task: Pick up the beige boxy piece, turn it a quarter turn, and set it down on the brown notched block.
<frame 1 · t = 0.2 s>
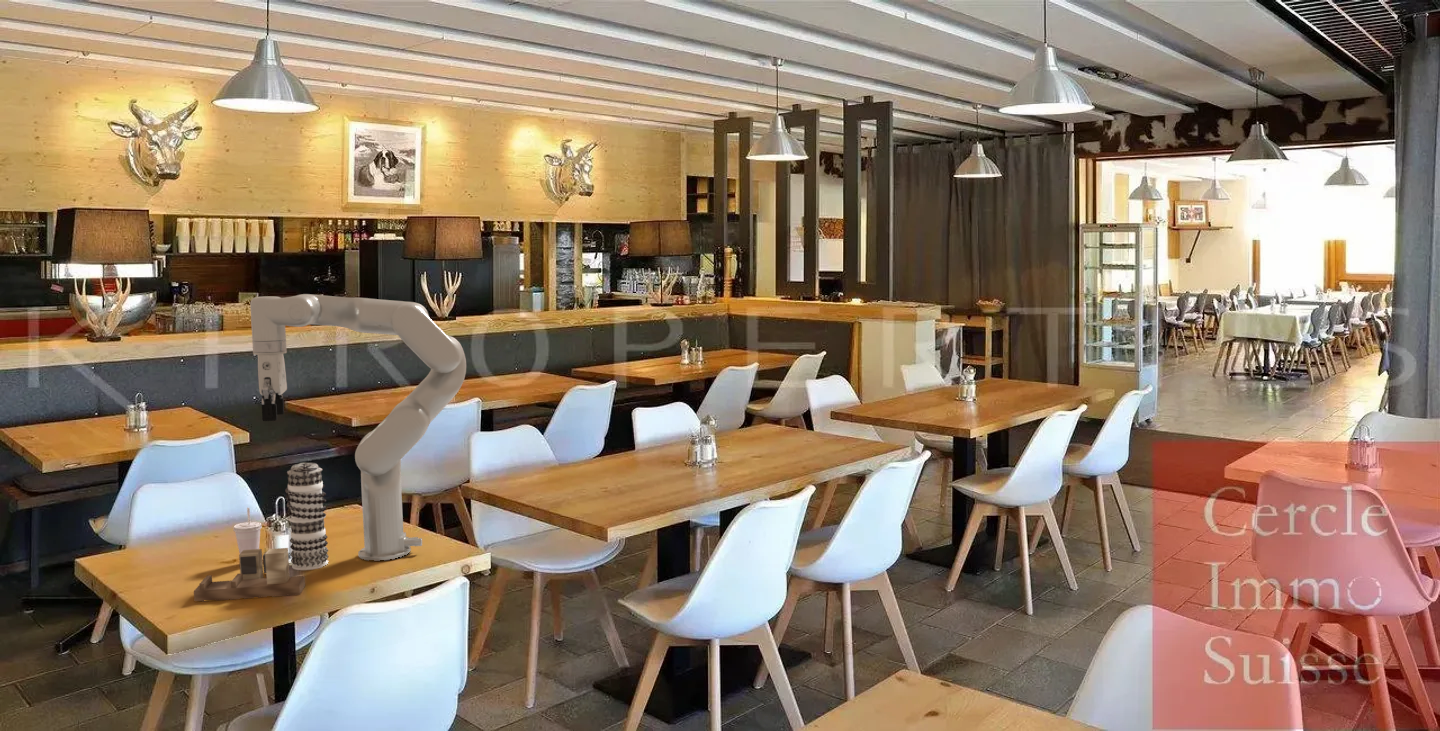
hand: (273, 417, 259), 36 cm above the table, tool pointing down, fingers open, 9 cm apart
brown notched block: (250, 593, 238), on the table
beige boxy piece: (252, 581, 248), on the table
smoothie: (250, 564, 262), on the table
decorative candle: (310, 565, 260), on the table
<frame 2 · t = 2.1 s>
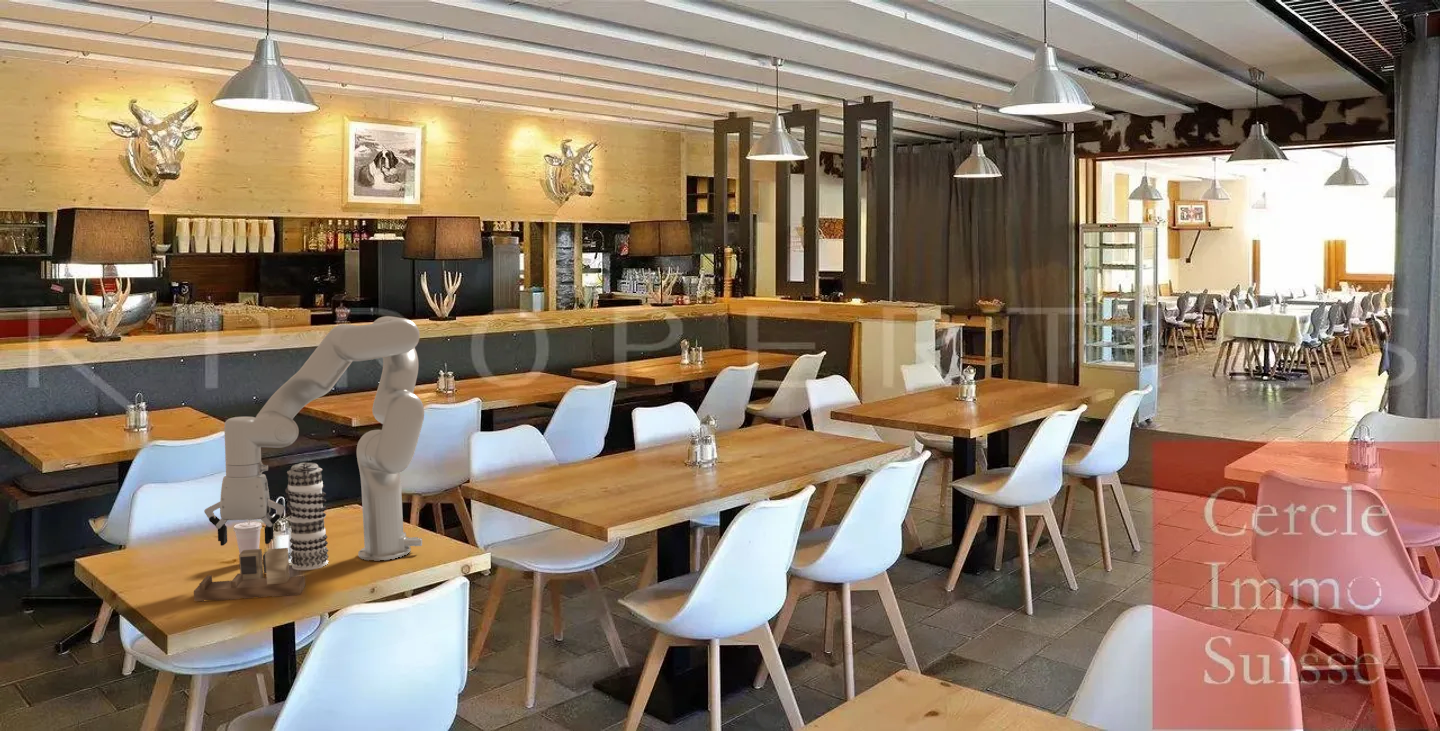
hand: (246, 543, 246), 9 cm above the table, tool pointing down, fingers open, 9 cm apart
nothing on the table moved.
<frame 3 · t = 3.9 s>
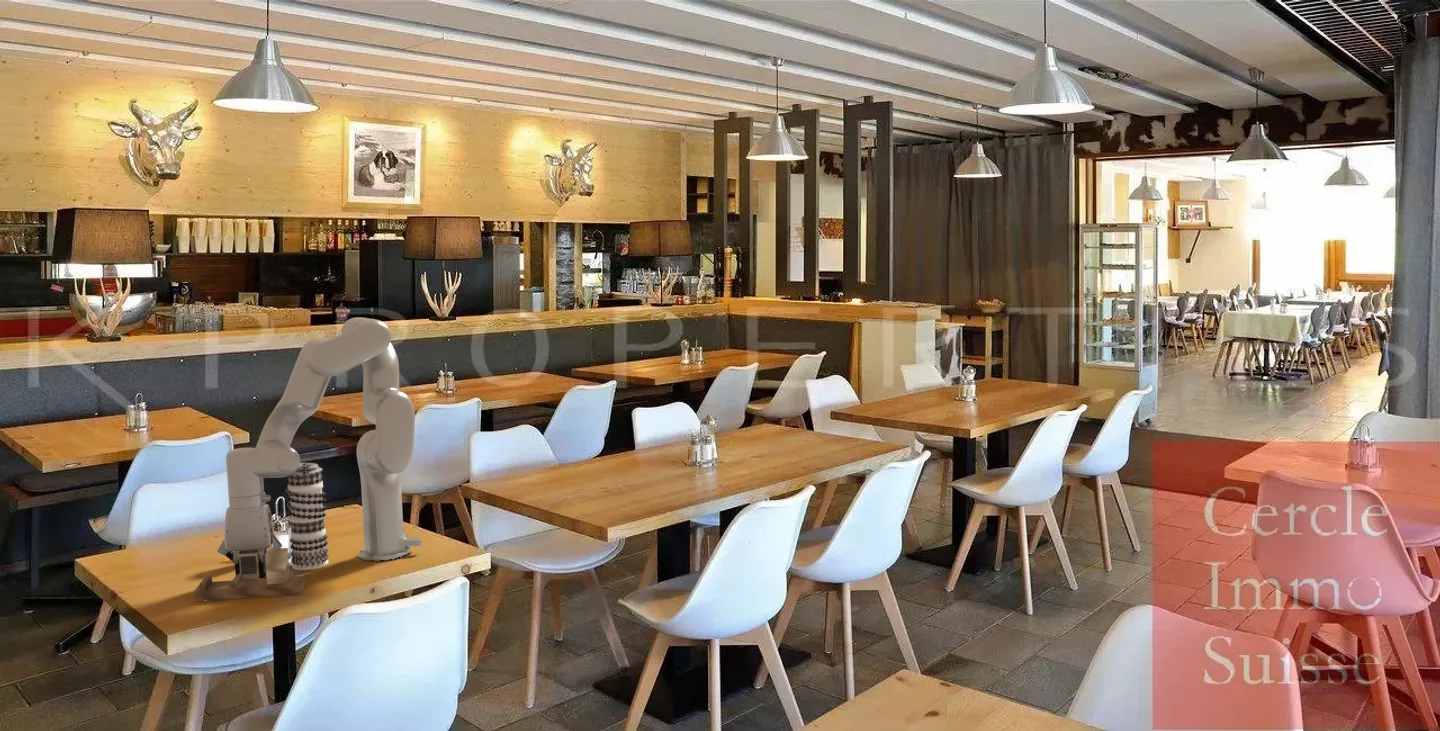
hand: (251, 577, 248), 1 cm above the table, tool pointing down, fingers closed on beige boxy piece, 4 cm apart
beige boxy piece: (252, 580, 248), on the table, touching gripper
everything else where it was.
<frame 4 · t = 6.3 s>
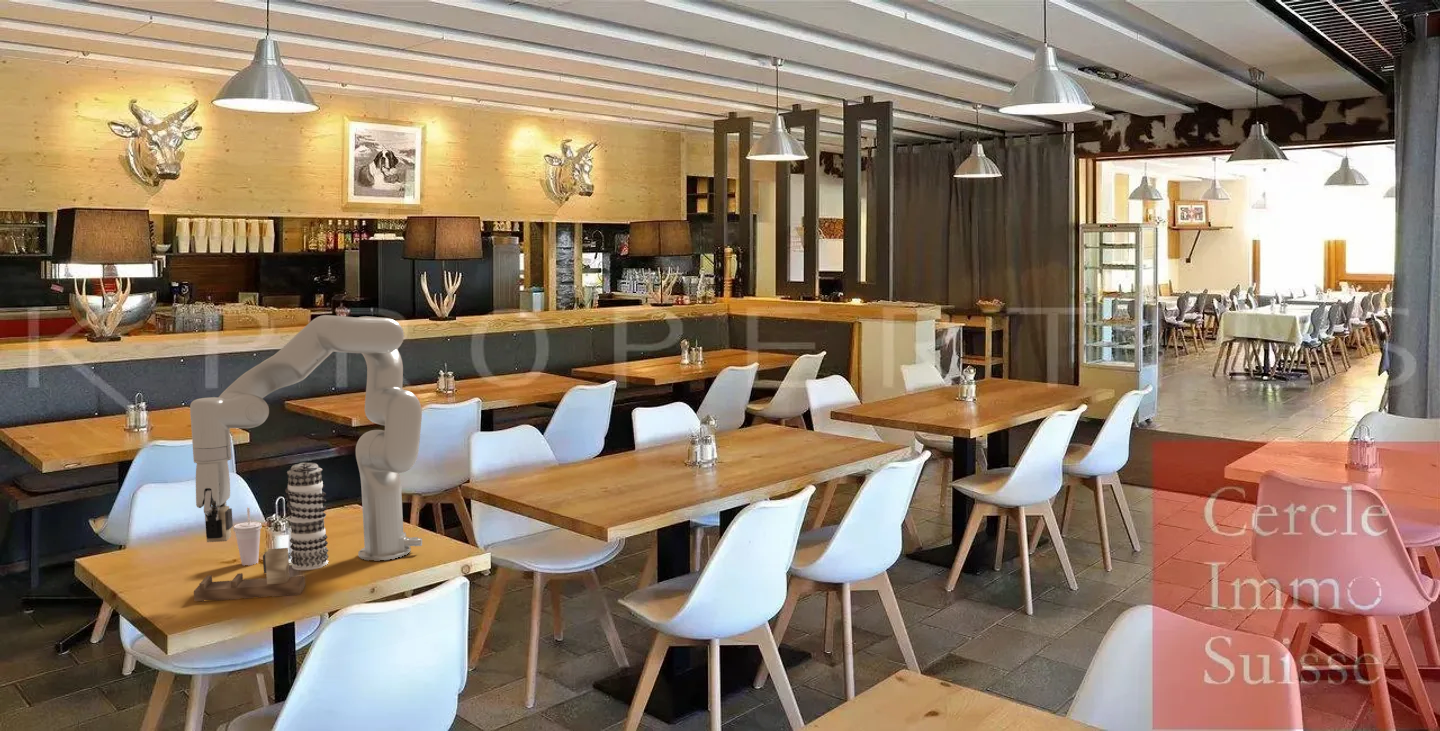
hand: (217, 534, 236), 14 cm above the table, tool pointing down, fingers closed on beige boxy piece, 4 cm apart
beige boxy piece: (219, 539, 236), point 13 cm above the table, touching gripper
everything else where it was.
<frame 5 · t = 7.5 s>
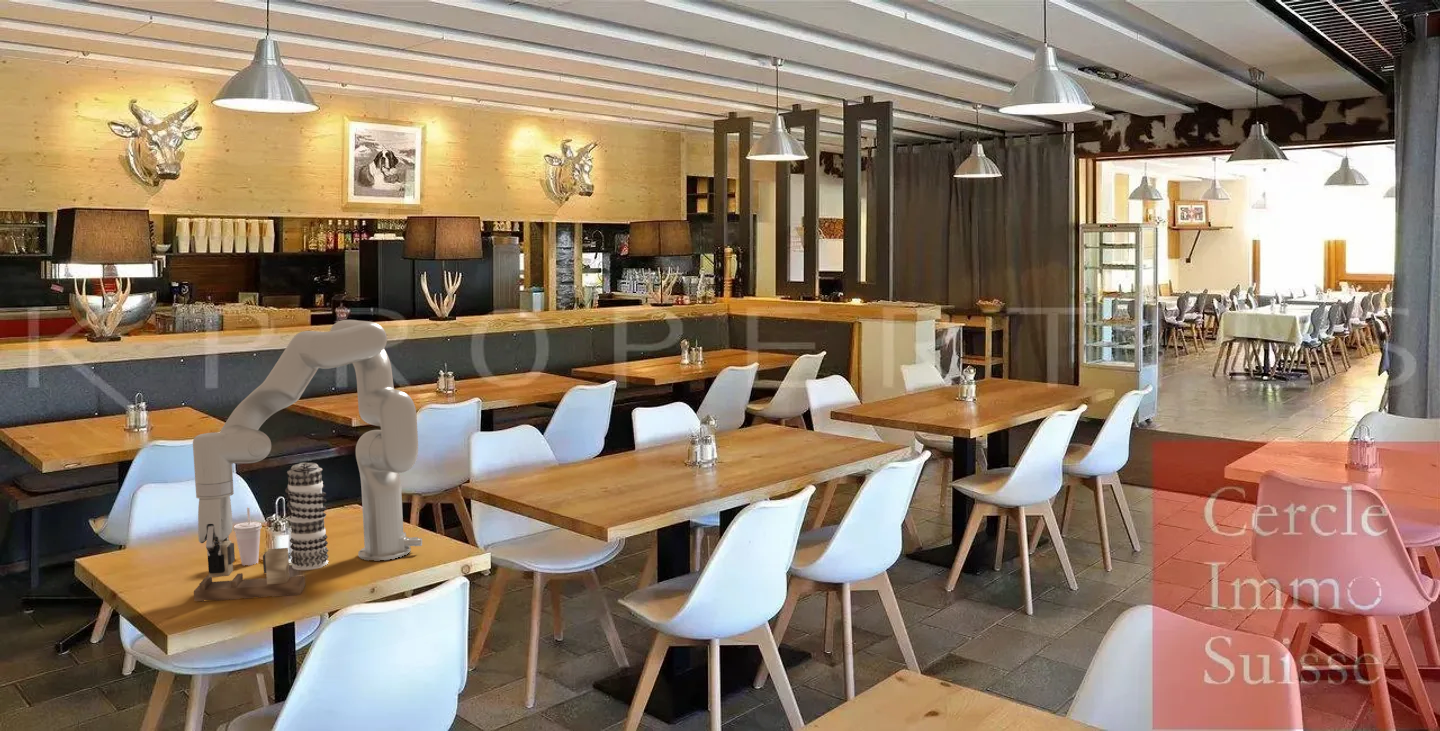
hand: (219, 568, 236), 6 cm above the table, tool pointing down, fingers closed on beige boxy piece, 4 cm apart
beige boxy piece: (221, 573, 237), point 5 cm above the table, touching gripper
everything else where it was.
when the fingers open (5 cm above the table, at t = 8.6 s): beige boxy piece drops 1 cm, resting on brown notched block.
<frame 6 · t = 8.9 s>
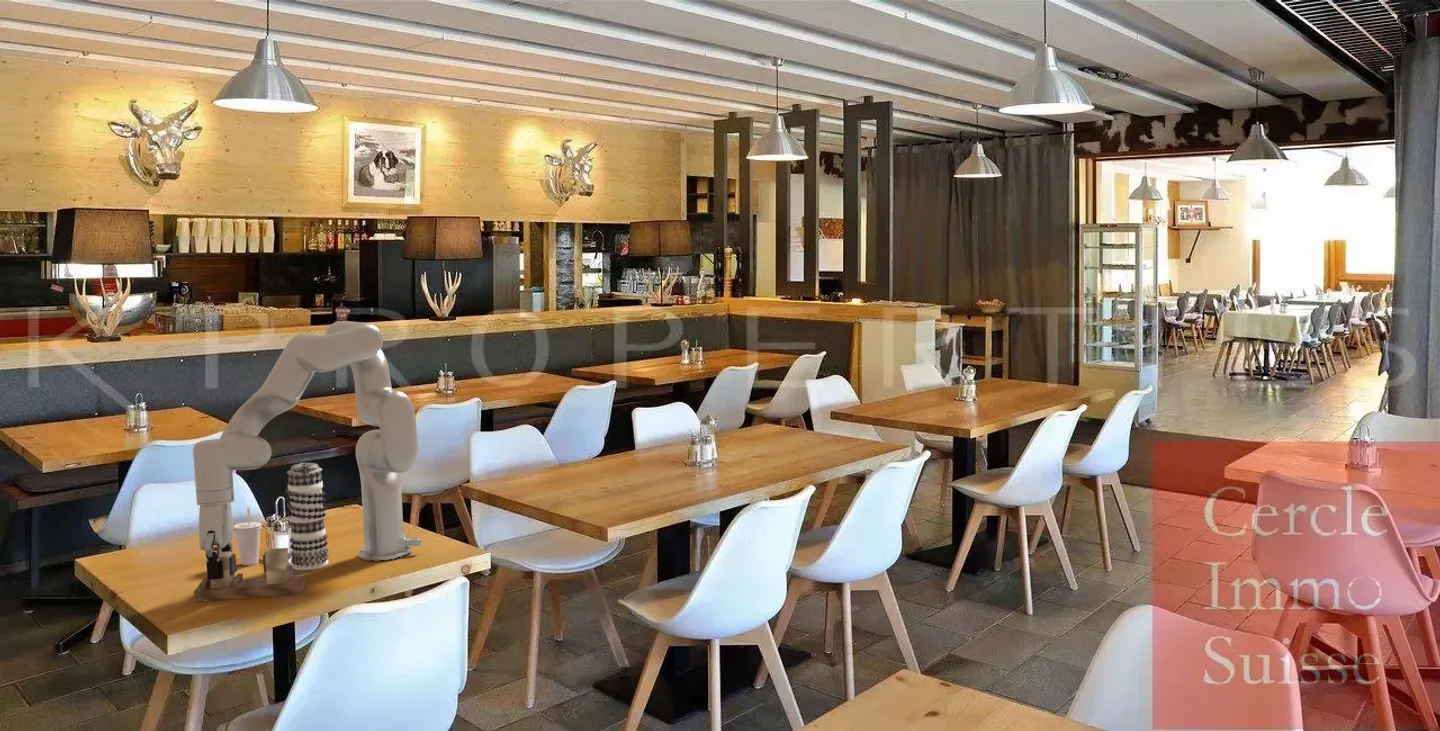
hand: (220, 572, 237), 5 cm above the table, tool pointing down, fingers open, 7 cm apart
beige boxy piece: (223, 584, 237), point 2 cm above the table, touching brown notched block
everything else where it was.
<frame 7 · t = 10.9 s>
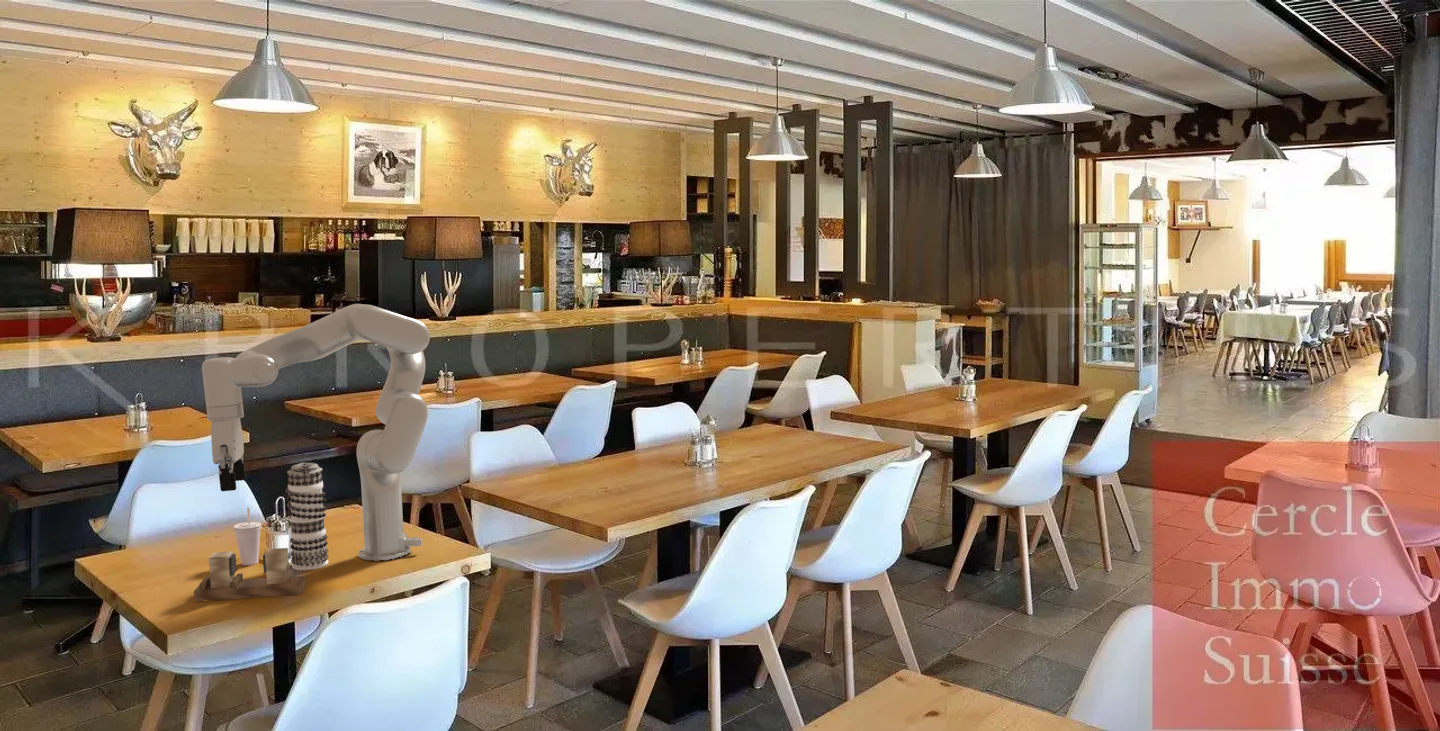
hand: (233, 485, 243), 23 cm above the table, tool pointing down, fingers open, 9 cm apart
nothing on the table moved.
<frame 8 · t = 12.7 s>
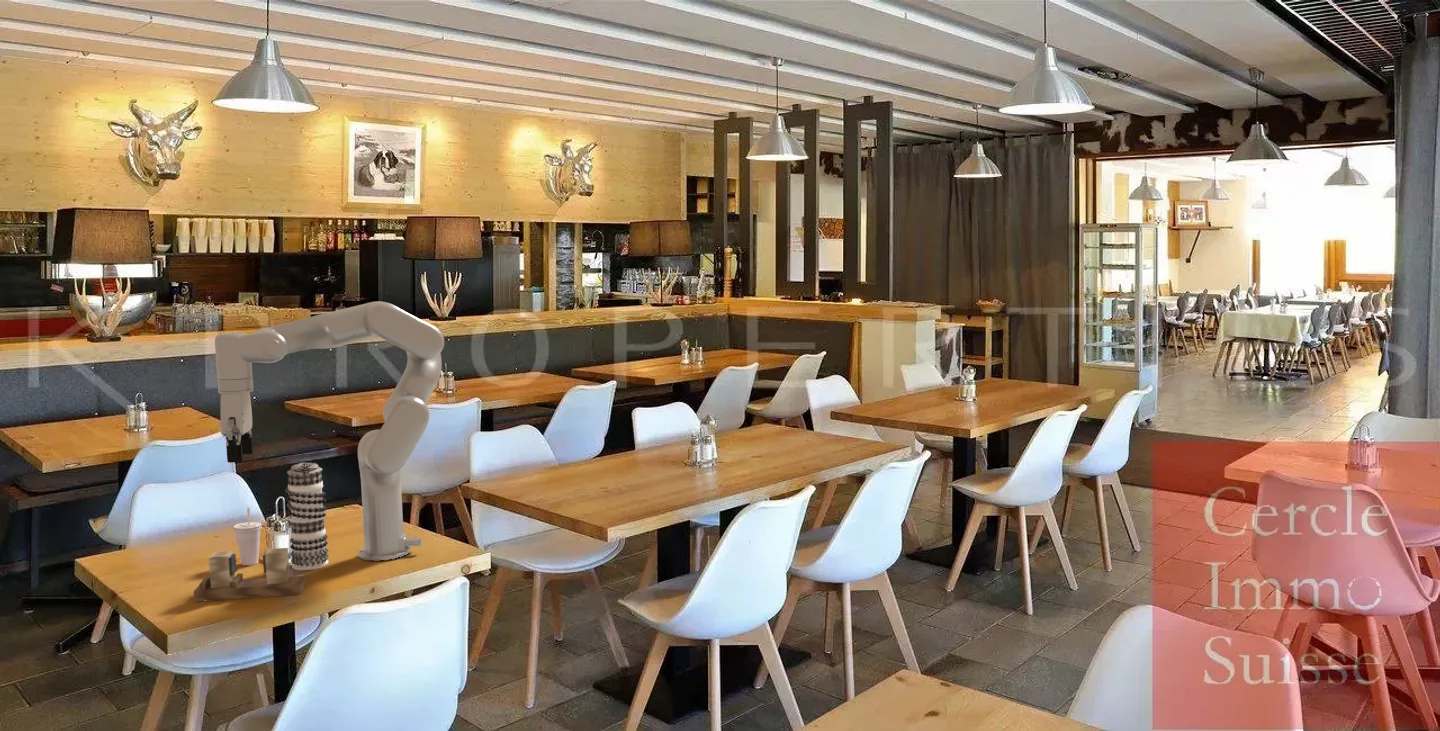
hand: (240, 457, 249), 28 cm above the table, tool pointing down, fingers open, 9 cm apart
nothing on the table moved.
at the end: beige boxy piece 0.3 cm from the target spot on the brown notched block, point 2.5 cm above the brown notched block's base; beige boxy piece tilted 0°; the gripper is holding nothing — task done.
